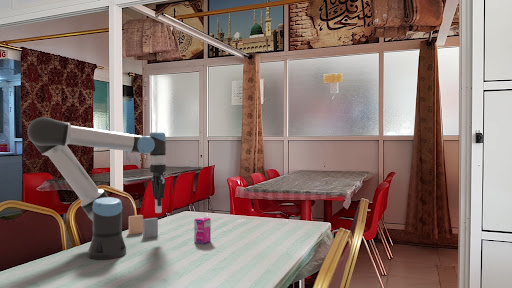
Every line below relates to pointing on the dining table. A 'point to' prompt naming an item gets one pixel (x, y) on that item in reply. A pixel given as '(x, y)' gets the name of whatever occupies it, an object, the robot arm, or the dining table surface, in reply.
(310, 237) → the dining table surface
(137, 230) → the terracotta tile
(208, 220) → the supplement box
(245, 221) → the dining table surface
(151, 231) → the slate tile
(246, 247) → the dining table surface
